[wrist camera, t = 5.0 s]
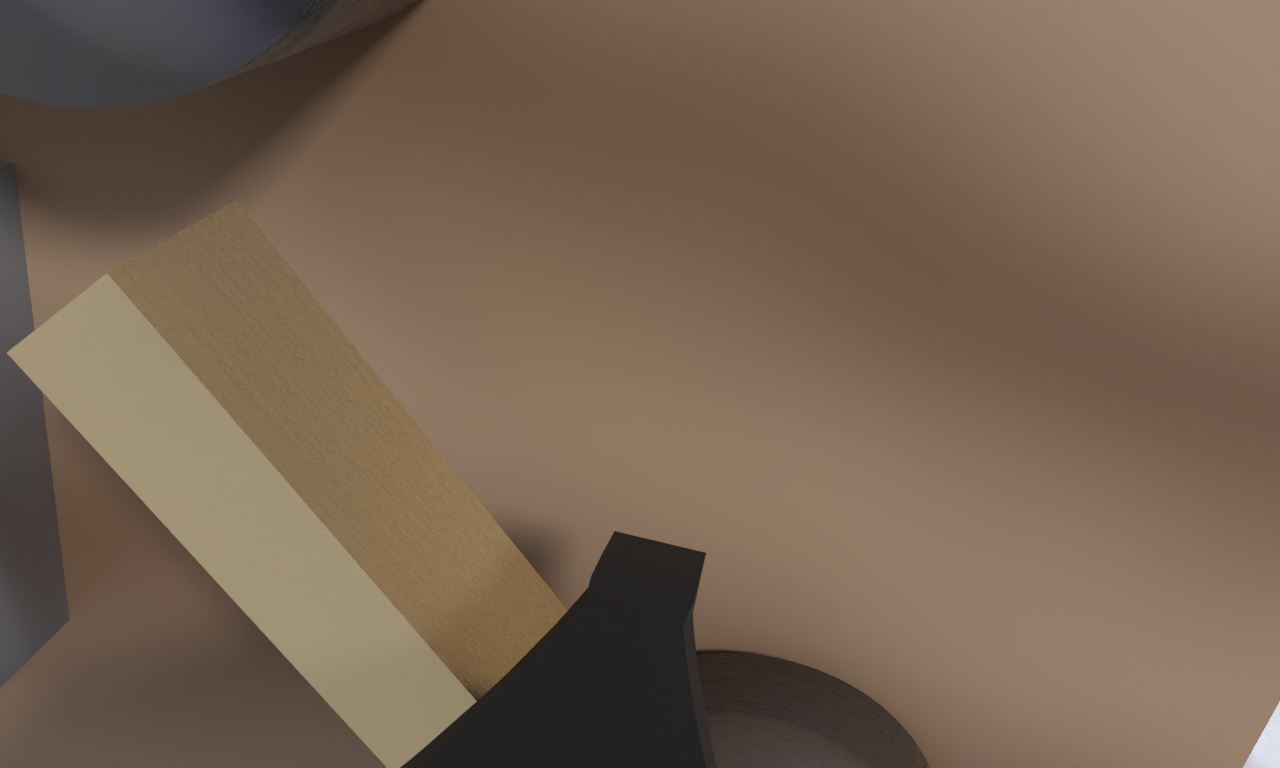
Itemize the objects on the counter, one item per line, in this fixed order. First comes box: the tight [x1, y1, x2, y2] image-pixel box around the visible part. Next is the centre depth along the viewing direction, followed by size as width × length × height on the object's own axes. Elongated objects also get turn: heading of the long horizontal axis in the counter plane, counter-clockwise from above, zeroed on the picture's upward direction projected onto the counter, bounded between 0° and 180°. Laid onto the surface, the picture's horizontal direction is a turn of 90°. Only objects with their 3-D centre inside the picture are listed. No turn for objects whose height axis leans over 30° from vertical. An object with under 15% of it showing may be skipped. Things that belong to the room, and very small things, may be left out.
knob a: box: [7, 200, 929, 768], centre depth 11 cm, size 11×4×3 cm, turn 35°
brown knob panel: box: [0, 0, 1280, 768], centre depth 10 cm, size 21×17×4 cm
